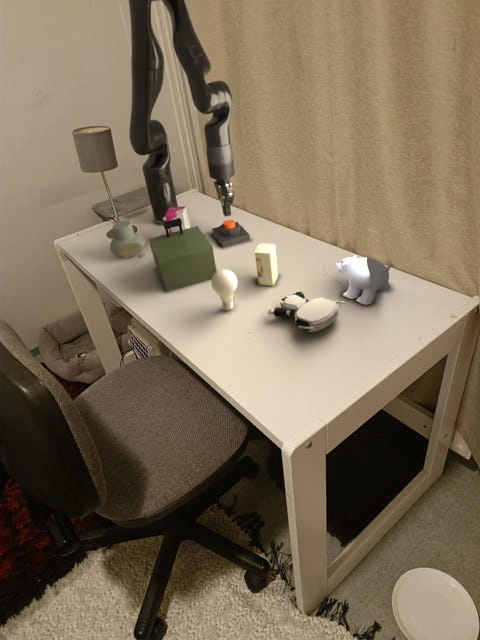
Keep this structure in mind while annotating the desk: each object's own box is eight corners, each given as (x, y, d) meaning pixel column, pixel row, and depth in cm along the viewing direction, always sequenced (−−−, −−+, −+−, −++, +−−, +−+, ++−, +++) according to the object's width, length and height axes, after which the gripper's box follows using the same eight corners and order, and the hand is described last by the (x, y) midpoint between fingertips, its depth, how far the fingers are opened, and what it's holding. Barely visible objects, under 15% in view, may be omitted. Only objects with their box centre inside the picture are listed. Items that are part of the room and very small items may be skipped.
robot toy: (265, 322, 106) (316, 343, 96) (263, 307, 104) (314, 327, 94) (297, 299, 112) (347, 316, 103) (296, 283, 110) (347, 300, 100)
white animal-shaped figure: (350, 271, 119) (351, 239, 113) (400, 290, 109) (404, 256, 104) (324, 288, 113) (325, 256, 108) (375, 310, 104) (378, 275, 98)
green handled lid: (149, 241, 126) (144, 223, 123) (197, 228, 130) (194, 211, 126) (159, 263, 115) (155, 244, 112) (212, 248, 118) (209, 230, 115)
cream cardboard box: (263, 274, 122) (260, 242, 116) (278, 276, 121) (276, 243, 115) (257, 285, 118) (254, 251, 112) (273, 286, 117) (270, 253, 111)
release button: (222, 226, 141) (221, 221, 140) (232, 223, 142) (232, 218, 141) (226, 230, 138) (225, 225, 137) (236, 227, 139) (236, 222, 138)
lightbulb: (222, 319, 108) (216, 281, 101) (211, 307, 112) (205, 270, 106) (245, 310, 110) (240, 272, 103) (233, 298, 114) (228, 261, 108)
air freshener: (115, 263, 137) (106, 234, 131) (110, 252, 143) (101, 224, 137) (149, 253, 140) (141, 224, 134) (143, 243, 146) (135, 215, 140)
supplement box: (193, 238, 145) (186, 205, 138) (189, 247, 140) (183, 213, 133) (176, 239, 146) (169, 206, 139) (172, 248, 141) (164, 214, 134)
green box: (156, 269, 131) (149, 242, 126) (203, 256, 134) (198, 229, 129) (166, 291, 121) (159, 263, 115) (217, 276, 124) (212, 248, 119)
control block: (212, 234, 146) (210, 223, 143) (237, 227, 148) (236, 216, 145) (223, 248, 137) (221, 236, 135) (250, 240, 139) (248, 229, 137)
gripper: (240, 163, 123) (245, 220, 134) (225, 151, 133) (231, 205, 144) (215, 168, 121) (222, 226, 132) (201, 156, 132) (209, 210, 142)
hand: (227, 215), depth 138 cm, fingers closed
